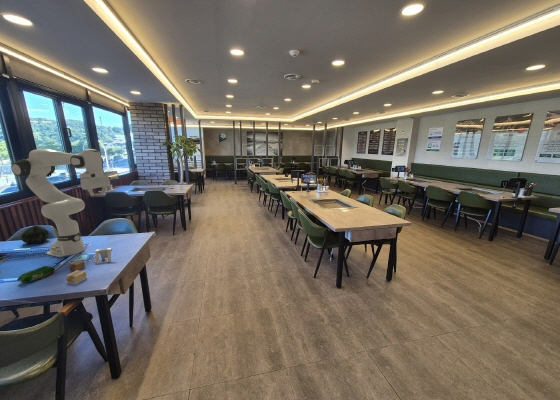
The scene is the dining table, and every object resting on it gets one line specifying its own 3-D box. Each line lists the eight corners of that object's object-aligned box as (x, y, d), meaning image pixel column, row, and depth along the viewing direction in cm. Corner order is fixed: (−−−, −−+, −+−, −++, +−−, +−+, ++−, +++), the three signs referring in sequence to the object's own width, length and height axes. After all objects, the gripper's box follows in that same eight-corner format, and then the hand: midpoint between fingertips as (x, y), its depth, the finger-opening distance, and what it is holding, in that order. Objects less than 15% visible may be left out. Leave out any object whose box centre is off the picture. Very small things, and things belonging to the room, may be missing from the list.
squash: (25, 233, 184) (19, 223, 174) (51, 231, 193) (47, 221, 183) (23, 249, 178) (17, 239, 168) (50, 245, 186) (45, 236, 177)
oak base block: (67, 282, 127) (66, 275, 126) (77, 276, 133) (76, 270, 132) (76, 283, 126) (75, 276, 126) (86, 277, 132) (85, 271, 131)
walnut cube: (70, 271, 140) (68, 264, 139) (78, 267, 144) (77, 260, 143) (77, 272, 139) (76, 264, 138) (85, 268, 144) (83, 260, 143)
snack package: (15, 284, 125) (13, 275, 124) (50, 270, 140) (49, 263, 139) (22, 287, 123) (20, 278, 122) (58, 272, 138) (56, 265, 137)
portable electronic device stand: (94, 265, 148) (92, 253, 146) (98, 260, 155) (97, 248, 153) (110, 263, 151) (108, 251, 149) (113, 258, 158) (112, 247, 156)
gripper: (102, 172, 159) (105, 191, 162) (77, 175, 139) (80, 197, 142) (111, 172, 159) (114, 191, 162) (87, 175, 139) (90, 197, 142)
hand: (98, 194), depth 152 cm, fingers open, 8 cm apart
